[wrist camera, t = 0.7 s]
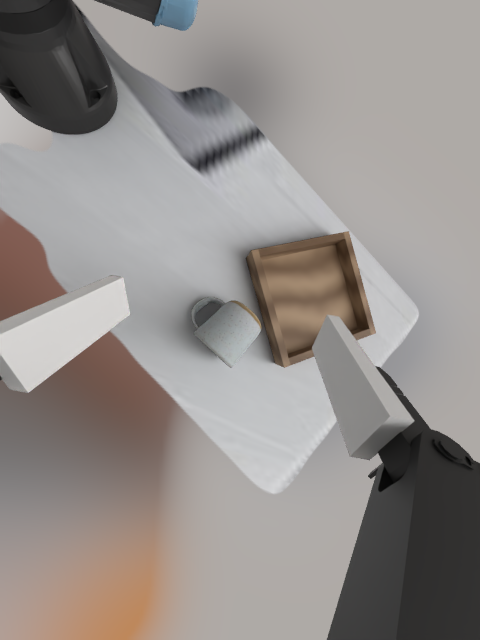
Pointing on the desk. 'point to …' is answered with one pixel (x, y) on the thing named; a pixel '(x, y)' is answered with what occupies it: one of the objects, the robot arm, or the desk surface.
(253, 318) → the ceramic mug
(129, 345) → the desk surface
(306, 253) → the walnut tray
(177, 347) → the desk surface
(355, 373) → the robot arm
